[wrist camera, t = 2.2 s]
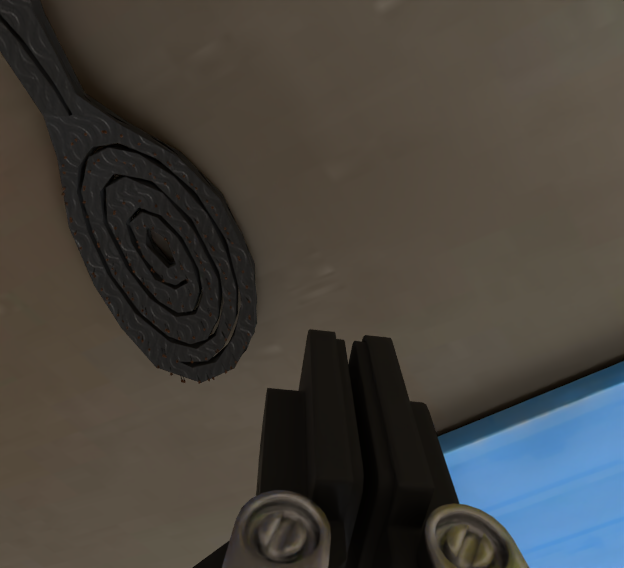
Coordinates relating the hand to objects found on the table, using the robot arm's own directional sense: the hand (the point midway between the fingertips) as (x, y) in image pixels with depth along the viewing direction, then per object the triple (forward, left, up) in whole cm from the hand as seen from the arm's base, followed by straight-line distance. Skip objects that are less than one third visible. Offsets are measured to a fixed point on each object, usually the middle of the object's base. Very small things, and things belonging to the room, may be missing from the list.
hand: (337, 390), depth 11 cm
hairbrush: (0, -10, -17) cm, 20 cm away
